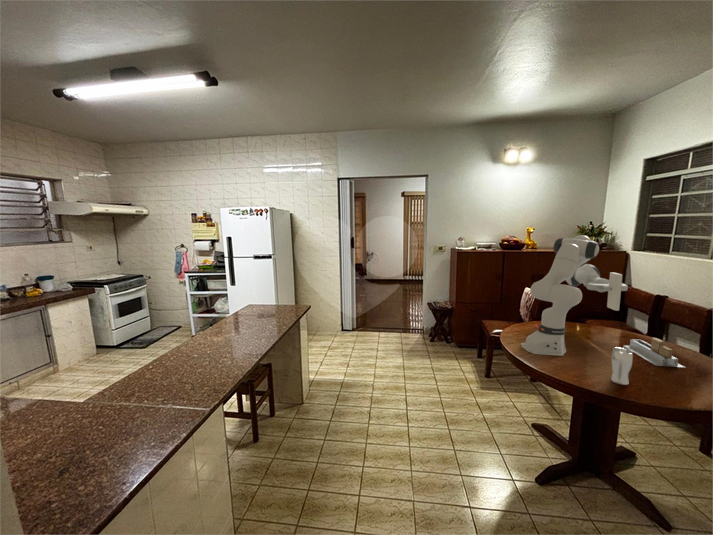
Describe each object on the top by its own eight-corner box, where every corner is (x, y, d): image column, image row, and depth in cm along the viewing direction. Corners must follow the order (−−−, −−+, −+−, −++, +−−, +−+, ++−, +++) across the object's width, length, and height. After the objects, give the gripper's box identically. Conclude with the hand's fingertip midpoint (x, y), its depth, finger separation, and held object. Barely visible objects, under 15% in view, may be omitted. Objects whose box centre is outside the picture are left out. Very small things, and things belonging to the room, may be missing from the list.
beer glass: (633, 383, 128) (637, 351, 126) (624, 386, 126) (627, 354, 124) (615, 376, 135) (617, 346, 133) (606, 379, 132) (608, 348, 130)
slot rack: (655, 368, 141) (656, 357, 141) (622, 347, 165) (623, 338, 165) (685, 370, 138) (687, 359, 138) (647, 349, 162) (648, 340, 162)
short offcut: (665, 364, 141) (667, 349, 140) (657, 360, 146) (659, 345, 145) (670, 365, 141) (672, 349, 140) (662, 360, 146) (664, 345, 145)
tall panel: (615, 310, 171) (618, 274, 168) (606, 306, 179) (610, 272, 176) (619, 310, 170) (622, 274, 168) (610, 307, 178) (613, 272, 175)
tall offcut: (657, 359, 147) (659, 341, 145) (649, 355, 151) (651, 337, 150) (661, 360, 146) (664, 341, 145) (654, 356, 151) (656, 338, 150)
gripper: (582, 280, 189) (594, 284, 176) (619, 280, 184) (634, 284, 171) (582, 289, 190) (593, 294, 176) (618, 290, 185) (633, 294, 172)
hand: (614, 289), depth 174 cm, fingers closed on tall panel, 2 cm apart
